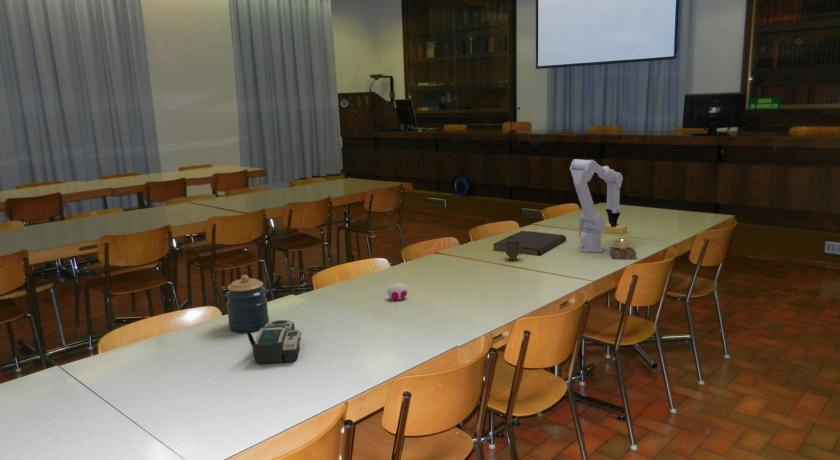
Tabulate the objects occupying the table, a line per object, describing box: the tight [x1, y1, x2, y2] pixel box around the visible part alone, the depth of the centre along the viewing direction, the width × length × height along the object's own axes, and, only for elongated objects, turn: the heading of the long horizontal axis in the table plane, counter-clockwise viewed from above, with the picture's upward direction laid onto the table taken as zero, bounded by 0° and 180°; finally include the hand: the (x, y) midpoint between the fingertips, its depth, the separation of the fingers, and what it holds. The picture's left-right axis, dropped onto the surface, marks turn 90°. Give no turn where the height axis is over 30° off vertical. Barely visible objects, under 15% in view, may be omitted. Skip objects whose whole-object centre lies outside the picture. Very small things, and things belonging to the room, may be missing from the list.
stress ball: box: [386, 282, 409, 302], centre depth 229 cm, size 8×8×7 cm
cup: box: [504, 241, 521, 261], centre depth 278 cm, size 8×7×8 cm
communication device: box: [246, 319, 303, 364], centre depth 188 cm, size 14×28×10 cm, turn 6°
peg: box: [618, 237, 628, 252], centre depth 277 cm, size 3×3×8 cm
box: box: [609, 246, 637, 260], centre depth 278 cm, size 10×10×3 cm
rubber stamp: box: [603, 210, 628, 235], centre depth 325 cm, size 10×6×12 cm, turn 48°
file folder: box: [492, 230, 567, 256], centre depth 304 cm, size 33×4×24 cm
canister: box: [225, 274, 270, 334], centre depth 205 cm, size 13×13×18 cm
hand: (612, 225), depth 298 cm, fingers open, 7 cm apart
